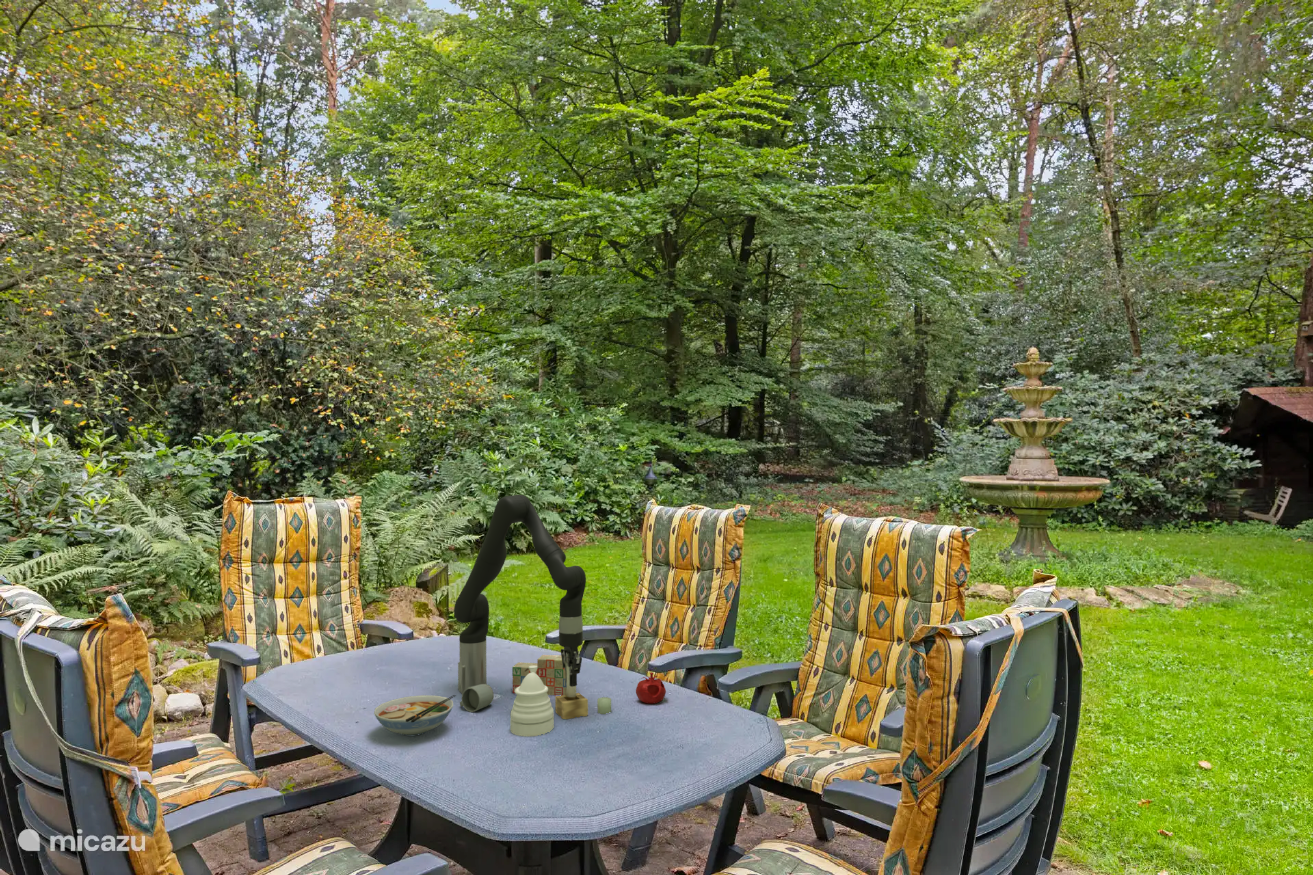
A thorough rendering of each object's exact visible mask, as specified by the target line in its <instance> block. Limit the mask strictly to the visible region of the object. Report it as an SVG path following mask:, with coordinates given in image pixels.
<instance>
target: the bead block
mask: <svg viewBox="0 0 1313 875" xmlns="http://www.w3.org/2000/svg"><path fill="white" fill-rule="evenodd" d="M554 698H555V699H554V700H555V701H554V702H555V704H554V705H555V707H554V708H555V710H554V711H555V713H556V714H557V715H558V716H559V717H560V716H561V717H560V718H561V719H562V720H563V719H565V720H570V719H571V720H572V719H576V718H575V717H577V718H581V717H580V716H583V717H588V716H589V699H588V698H587V697H585V696H583V695H582V694H581V693H580V692H576V697H567V695H561V696H556V695H554ZM587 715H588V716H587Z"/></svg>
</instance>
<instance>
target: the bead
mask: <svg viewBox="0 0 1313 875" xmlns="http://www.w3.org/2000/svg"><path fill="white" fill-rule="evenodd" d="M596 705H597V710H596V711H597V714H599V713H600V714H599V715H607V714H606V713H609V712H611V713H612V698H610V697H608V696H607V697H606V696H603V697H598V698H597V704H596ZM609 714H610V713H609Z"/></svg>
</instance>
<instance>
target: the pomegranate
mask: <svg viewBox="0 0 1313 875" xmlns="http://www.w3.org/2000/svg"><path fill="white" fill-rule="evenodd" d="M649 674H650V676H649V675H645V676H643V677H641V678H640V681H639V682H637V685H636V689H635V694H636V697H637V698H638V700H639V701H640V702H643V703H644V704H649V705H653V704H658V703H660V702H662V701H663V700H664V699H665V697H666V693H667V691H666V688H665V684H664V683H663V679H662V680H661V678H658V677H659V676H658V675H654V672H649ZM655 678H656V679H655ZM642 679H643V680H642Z"/></svg>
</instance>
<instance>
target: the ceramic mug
mask: <svg viewBox="0 0 1313 875" xmlns="http://www.w3.org/2000/svg"><path fill="white" fill-rule="evenodd" d="M494 695H495V694H494V690H493V688H492V687H491V686H490V685H489V684H480V685H477V686H473V687H469V688H467V689H465V690H464V692H463V694H462V695H461V700H460V701H459V705H460V707H463V708H464V710H466V711H467V712H469V713H474V712H477V711H479V710H481V709H484V708H486V707H488V706H489V705H491V704H492V702H493V701H494Z"/></svg>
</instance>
